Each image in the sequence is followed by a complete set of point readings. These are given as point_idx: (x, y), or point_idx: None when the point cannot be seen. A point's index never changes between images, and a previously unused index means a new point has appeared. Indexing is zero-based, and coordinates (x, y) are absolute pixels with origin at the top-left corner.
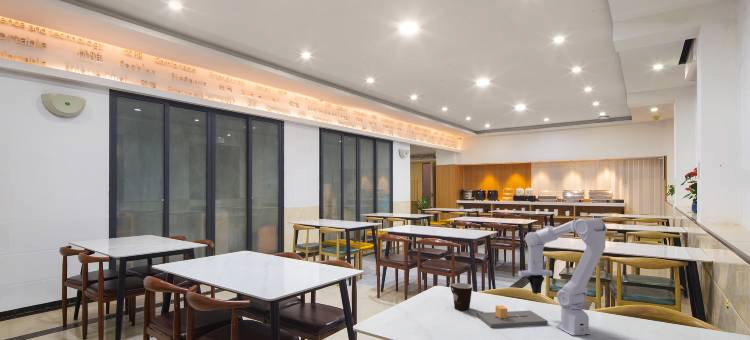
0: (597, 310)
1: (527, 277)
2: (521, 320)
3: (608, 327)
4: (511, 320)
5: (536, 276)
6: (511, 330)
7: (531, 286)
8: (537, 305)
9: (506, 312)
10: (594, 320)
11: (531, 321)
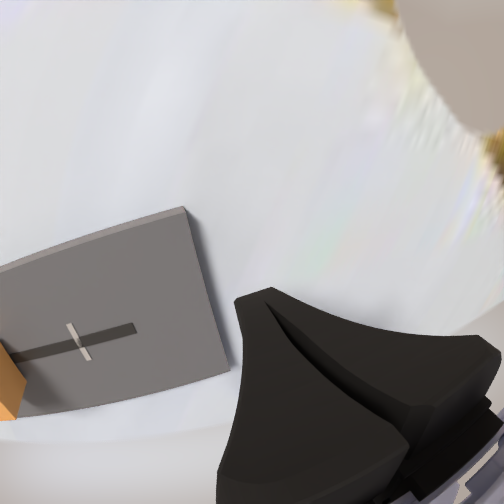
0: (488, 144)
1: (223, 478)
2: (93, 389)
3: (427, 314)
4: (47, 393)
5: (394, 489)
6: (57, 426)
7: (246, 346)
8: (308, 27)
9: (16, 403)
10: (436, 255)
11: (141, 393)
